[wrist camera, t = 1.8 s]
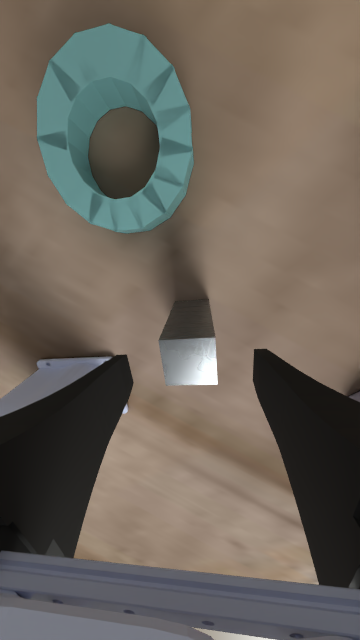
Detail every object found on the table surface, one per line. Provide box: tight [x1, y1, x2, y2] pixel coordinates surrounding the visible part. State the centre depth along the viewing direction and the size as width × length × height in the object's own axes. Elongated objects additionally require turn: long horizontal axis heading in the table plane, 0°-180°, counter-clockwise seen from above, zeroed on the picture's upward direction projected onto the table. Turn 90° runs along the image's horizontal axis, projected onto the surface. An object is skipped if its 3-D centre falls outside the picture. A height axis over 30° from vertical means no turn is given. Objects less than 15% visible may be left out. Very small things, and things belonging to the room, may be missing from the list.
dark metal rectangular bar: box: [159, 299, 217, 385], centre depth 15 cm, size 3×3×8 cm
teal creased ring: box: [37, 23, 194, 234], centre depth 13 cm, size 10×10×2 cm
